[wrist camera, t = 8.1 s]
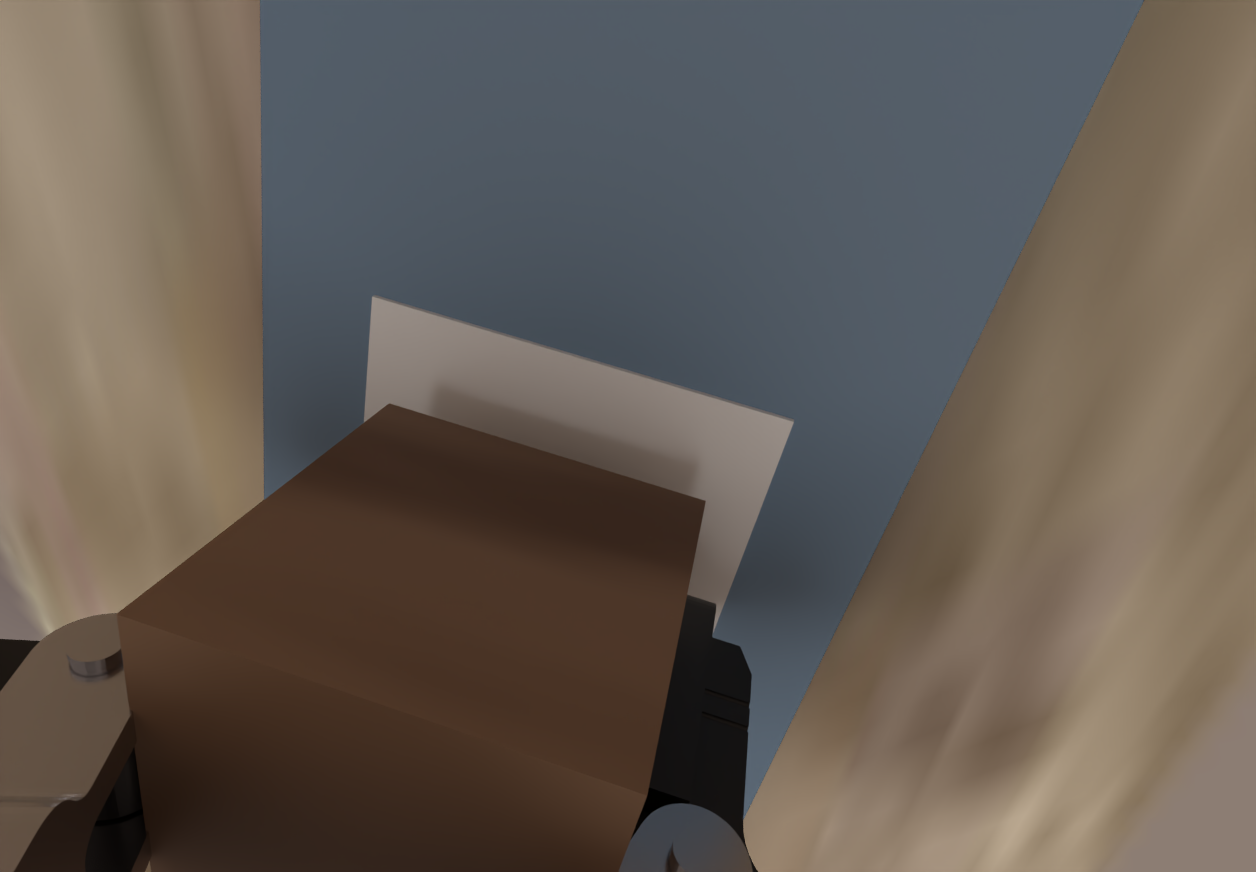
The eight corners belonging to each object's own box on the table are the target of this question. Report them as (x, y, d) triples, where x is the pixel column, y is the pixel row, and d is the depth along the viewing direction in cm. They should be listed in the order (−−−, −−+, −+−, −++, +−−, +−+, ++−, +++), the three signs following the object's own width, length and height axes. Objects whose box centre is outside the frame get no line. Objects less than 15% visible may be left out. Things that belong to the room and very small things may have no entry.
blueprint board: (309, -374, 9) (251, -430, 8) (1195, -175, 8) (1251, -210, 7) (290, 787, 20) (264, 824, 19) (677, 924, 19) (671, 970, 18)
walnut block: (389, 403, 11) (116, 614, 6) (705, 500, 11) (646, 796, 6) (368, 642, 13) (157, 919, 9) (628, 729, 13) (545, 1064, 8)
